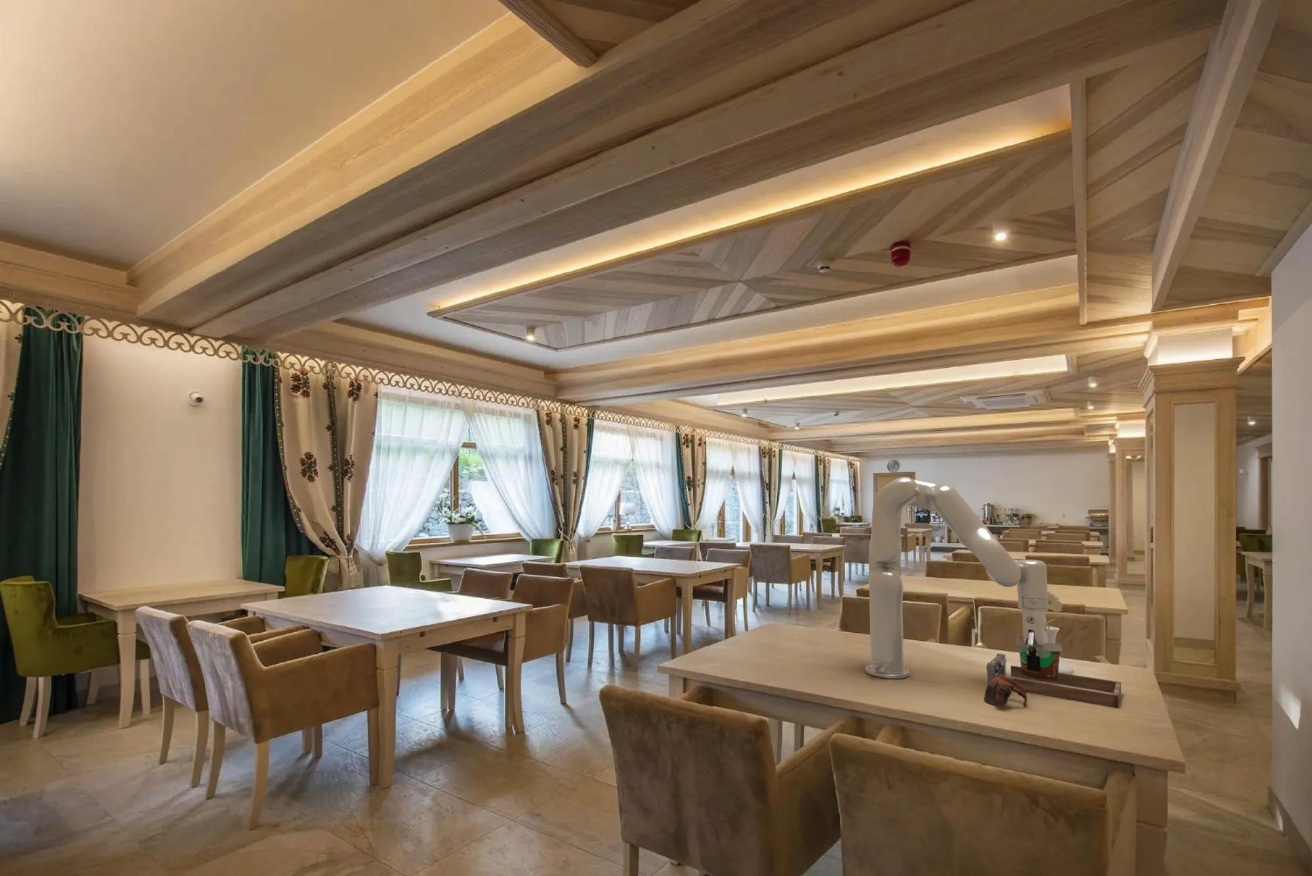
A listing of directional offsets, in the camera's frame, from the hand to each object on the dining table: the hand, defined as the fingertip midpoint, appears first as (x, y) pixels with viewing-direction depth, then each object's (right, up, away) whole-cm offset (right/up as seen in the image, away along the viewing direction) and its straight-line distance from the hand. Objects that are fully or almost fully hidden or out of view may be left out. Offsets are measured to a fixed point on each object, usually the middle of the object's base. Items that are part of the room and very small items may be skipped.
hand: (1035, 667), depth 186 cm
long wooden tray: (+4, -5, -4) cm, 8 cm away
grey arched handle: (-7, -6, +7) cm, 11 cm away
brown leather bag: (-18, -4, -16) cm, 24 cm away
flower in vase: (+13, -7, +14) cm, 20 cm away
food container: (-1, -2, -1) cm, 3 cm away
